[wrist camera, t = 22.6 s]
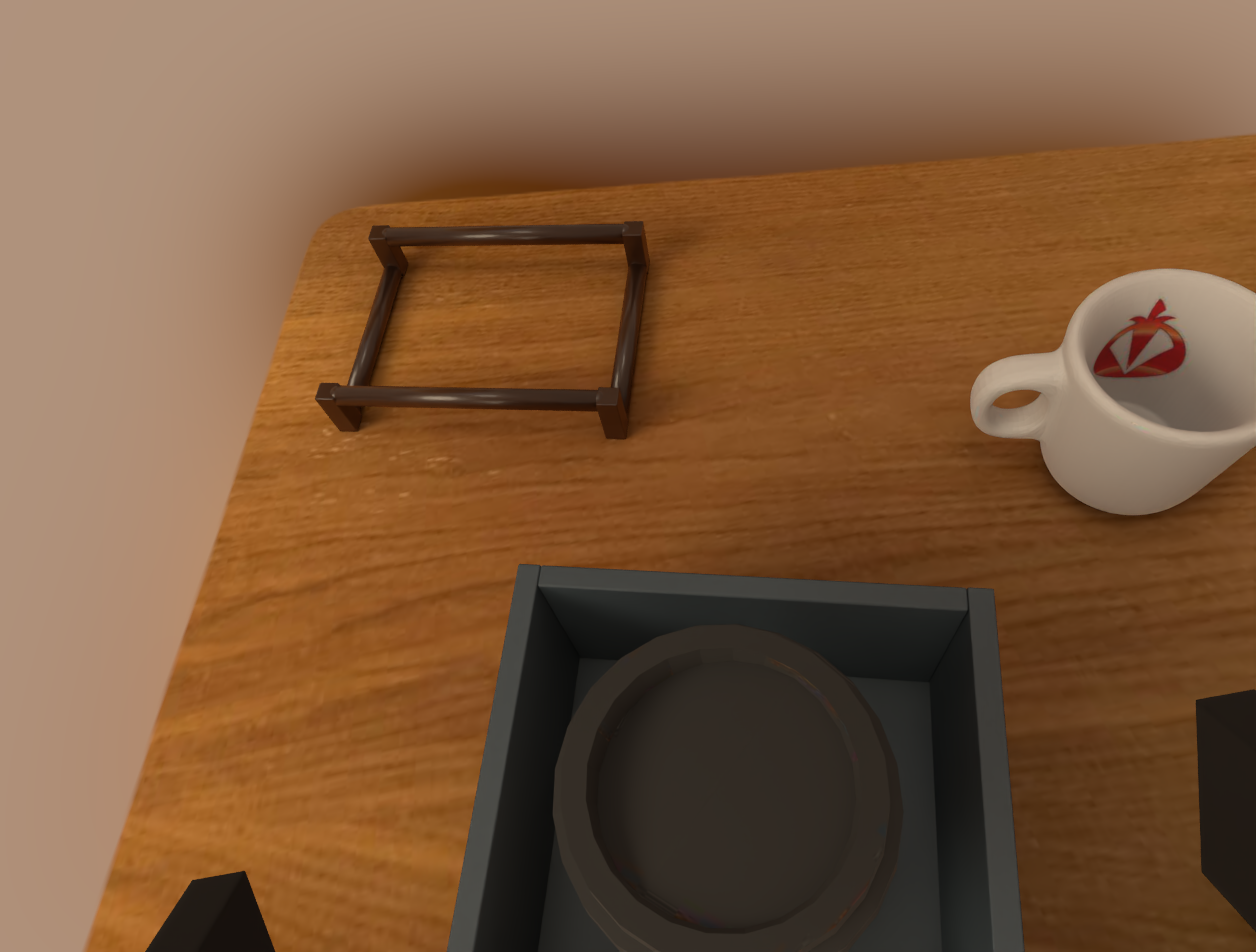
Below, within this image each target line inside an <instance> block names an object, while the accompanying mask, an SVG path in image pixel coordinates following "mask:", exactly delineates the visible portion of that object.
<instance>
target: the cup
mask: <svg viewBox="0 0 1256 952" xmlns="http://www.w3.org/2000/svg"><path fill="white" fill-rule="evenodd" d="M1015 390H1035V391H1038V392H1041V394H1040V395H1039V397H1038V398H1037V399H1036V400H1035V401H1033V402H1032V403H1030V404H1028V405H1026V406H1023V407H1019V408H1014V409H1002V408H998V407H995V406H993V405H992V404H993V402H994V401H995V400H996V399H997V398H998V397H999V396H1001V395H1003V394H1005V393H1007V392H1011V391H1015ZM970 408H971V413H972V418H973V420H974V422H975V424H976V426H977V427H978V428H979V429H980V430H981V431H983V432H984V433H986V434H989V435H992V436H996V437H1001V438H1024V439H1035V440H1038V441H1040V446H1041V451H1042V455H1043V458H1044V461H1045V463H1046V466H1047V468H1048V470H1049V471H1050V473H1051V474H1052V476H1053V477H1054V479H1055V480H1056V481H1057V482H1058V484H1059V485H1060V486H1061V487H1062V488H1064V489H1065V490H1066V491H1067V492H1068V493H1069V494H1071V495H1072V496H1073V497H1075V498H1076V499H1078V500H1079V501H1081V502H1083V503H1085V504H1087V505H1089V506H1091V507H1093V508H1096V509H1099V510H1102V511H1105V512H1109V513H1114V514H1121V515H1146V514H1151V513H1156V512H1160V511H1163V510H1166V509H1169V508H1171V507H1173V506H1176V505H1178V504H1180V503H1182V502H1183V501H1185V500H1187V499H1188V498H1190V497H1191V496H1193V495H1194V494H1195V493H1197V492H1198V491H1199V490H1201V489H1202V488H1203V487H1204V486H1206V485H1207V484H1208V483H1209V482H1211V481H1212V480H1213V479H1214V478H1216V477H1217V476H1218V475H1219V474H1221V473H1222V472H1223V471H1224V470H1226V469H1227V468H1228V467H1229V466H1231V465H1232V464H1233V463H1234V462H1236V461H1237V460H1238V459H1239V458H1241V457H1242V456H1243V455H1244V454H1246V453H1247V452H1248V451H1249V450H1251V449H1252V448H1253V447H1254V446H1256V293H1254V292H1252V291H1251V290H1249V289H1247V288H1245V287H1243V286H1241V285H1239V284H1237V283H1235V282H1232V281H1230V280H1227V279H1224V278H1221V277H1218V276H1216V275H1212V274H1207V273H1203V272H1199V271H1192V270H1185V269H1153V270H1145V271H1140V272H1134V273H1131V274H1127V275H1124V276H1121V277H1119V278H1116V279H1114V280H1112V281H1110V282H1108V283H1106V284H1104V285H1102V286H1101V287H1099V288H1098V289H1096V290H1095V291H1094V292H1092V293H1091V294H1090V295H1089V296H1088V297H1087V298H1086V299H1085V300H1084V301H1083V302H1082V303H1081V304H1080V305H1079V307H1078V308H1077V310H1076V311H1075V313H1074V315H1073V316H1072V318H1071V320H1070V323H1069V325H1068V328H1067V331H1066V334H1065V337H1064V340H1063V343H1062V344H1061V346H1060V348H1058V349H1057V350H1056V351H1053V352H1050V353H1038V354H1026V355H1017V356H1012V357H1007V358H1004V359H1001V360H999V361H996V362H994V363H992V364H991V365H989V366H987V367H986V368H985V369H984V370H983V371H982V372H981V373H980V375H979V376H978V377H977V379H976V380H975V383H974V385H973V387H972V391H971V398H970Z"/></svg>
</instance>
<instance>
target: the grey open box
mask: <svg viewBox="0 0 1256 952" xmlns="http://www.w3.org/2000/svg"><path fill="white" fill-rule="evenodd" d="M726 624H740V625H744V626H749V627H753V628H758V629H763V630H767V631H772V632H776V633H780V634H782V635H784V636H786V637H788V638H790V639H792V640H794V641H796V642H798V643H800V644H802V645H804V646H806V647H808V648H810V649H812V650H814V651H816V652H818V653H819V654H821V655H822V656H823V657H824V658H825V659H827V660H828V661H829V662H830V663H831V664H832V665H834V666H835V667H836V668H837V669H838V670H839V671H841V672H842V673H843V674H844V675H845V676H847V677H848V678H849V679H850V680H851V681H852V682H853V683H854V684H855V686H856V687H857V688H858V690H859V691H860V693H861V694H862V695H863V697H864V698H865V700H866V701H867V702H868V704H869V705H870V707H871V708H872V709H873V711H874V712H875V713H876V715H877V716H878V718H879V719H880V721H881V724H882V726H883V729H884V731H885V734H886V736H887V739H888V741H889V744H890V747H891V749H892V752H893V754H894V757H895V759H896V762H897V765H898V773H899V780H900V788H901V796H902V804H903V811H904V813H903V825H902V833H901V840H900V848H899V855H898V863H897V870H896V872H895V875H894V877H893V879H892V882H891V884H890V886H889V889H888V891H887V894H886V896H885V898H884V901H883V903H882V905H881V908H880V910H879V912H878V915H877V916H876V917H875V919H874V920H873V921H872V922H871V924H870V925H869V926H868V927H867V928H866V930H865V931H864V932H863V933H862V935H861V936H860V937H859V938H858V939H857V941H856V942H855V943H854V944H853V946H852V947H851V948H850V949H849V950H848V952H1025V949H1024V938H1023V926H1022V914H1021V902H1020V891H1019V879H1018V867H1017V855H1016V844H1015V832H1014V820H1013V809H1012V797H1011V785H1010V773H1009V762H1008V750H1007V738H1006V726H1005V715H1004V703H1003V691H1002V680H1001V668H1000V656H999V644H998V633H997V621H996V609H995V597H994V590H993V589H986V588H967V589H966V588H958V587H939V586H920V585H901V584H882V583H863V582H844V581H826V580H807V579H788V578H769V577H750V576H731V575H712V574H694V573H675V572H656V571H637V570H618V569H599V568H581V567H562V566H542V567H541V566H540V565H529V564H519V566H518V571H517V577H516V582H515V587H514V593H513V598H512V603H511V609H510V614H509V620H508V625H507V630H506V636H505V641H504V647H503V652H502V657H501V663H500V668H499V673H498V679H497V684H496V690H495V695H494V700H493V706H492V711H491V717H490V722H489V727H488V733H487V738H486V743H485V749H484V754H483V760H482V765H481V770H480V776H479V781H478V787H477V792H476V797H475V803H474V808H473V813H472V819H471V824H470V830H469V835H468V840H467V846H466V851H465V857H464V862H463V867H462V873H461V878H460V883H459V889H458V894H457V900H456V905H455V910H454V916H453V921H452V927H451V932H450V937H449V943H448V948H447V952H620V951H619V950H618V949H617V947H616V946H615V945H614V944H613V943H612V942H611V940H610V939H609V938H608V937H607V936H606V934H605V933H604V932H603V931H602V930H601V929H600V927H599V926H598V925H597V924H596V923H595V921H594V920H593V919H592V918H591V917H590V916H589V914H588V913H587V911H586V909H585V908H584V907H583V905H582V903H581V901H580V899H579V896H578V894H577V892H576V890H575V888H574V886H573V884H572V882H571V880H570V878H569V875H568V873H567V871H566V869H565V867H564V865H563V863H562V860H561V854H560V849H559V844H558V839H557V834H556V829H555V824H554V819H553V799H554V780H555V767H556V764H557V760H558V757H559V754H560V751H561V747H562V744H563V741H564V737H565V734H566V731H567V728H568V725H569V723H570V722H571V720H572V718H573V717H574V715H575V713H576V712H577V710H578V708H579V707H580V705H581V703H582V702H583V700H584V698H585V697H586V695H587V693H588V692H589V690H590V688H591V687H592V686H593V685H594V684H595V683H596V682H597V681H598V680H599V679H600V678H601V677H602V676H603V675H604V674H605V673H606V672H607V671H608V670H609V669H610V668H611V667H612V666H613V665H614V664H615V663H616V662H617V661H618V660H619V659H620V658H622V657H624V656H625V655H627V654H629V653H630V652H632V651H634V650H635V649H637V648H639V647H640V646H642V645H644V644H646V643H647V642H649V641H651V640H652V639H654V638H656V637H658V636H662V635H665V634H669V633H672V632H676V631H679V630H682V629H686V628H689V627H693V626H696V625H726Z"/></svg>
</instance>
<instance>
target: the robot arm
mask: <svg viewBox="0 0 1256 952" xmlns="http://www.w3.org/2000/svg"><path fill="white" fill-rule="evenodd" d="M1196 720H1197V749H1198V778H1199V807H1200V836H1201V865H1202V873H1203V874H1204V875H1205V876H1206V877H1207V878H1208V880H1209V881H1210V882H1211V883H1212V884H1213V885H1214V886H1215V887H1216V888H1217V889H1218V891H1219V892H1220V893H1221V894H1222V895H1223V896H1224V897H1225V898H1226V899H1227V900H1228V902H1229V903H1230V904H1231V905H1232V906H1233V907H1234V908H1235V909H1236V910H1237V911H1238V913H1239V914H1240V915H1241V916H1242V917H1243V918H1244V919H1245V920H1246V921H1247V923H1248V924H1249V925H1250V926H1251V927H1252V928H1253V929H1254V930H1255V931H1256V690H1248V691H1243V692H1237V693H1232V694H1226V695H1221V696H1215V697H1209V698H1204V699H1198V700H1196ZM145 952H275V950H274V947H273V945H272V942H271V939H270V937H269V934H268V931H267V928H266V926H265V923H264V920H263V918H262V915H261V912H260V910H259V907H258V904H257V902H256V899H255V896H254V894H253V891H252V888H251V886H250V883H249V880H248V878H247V875H246V872H245V871H242V872H236V873H230V874H225V875H219V876H214V877H208V878H203V879H197V880H192V881H191V883H190V885H189V886H188V888H187V889H186V891H185V892H184V894H183V895H182V897H181V898H180V900H179V901H178V903H177V904H176V906H175V907H174V909H173V910H172V912H171V913H170V915H169V916H168V918H167V919H166V921H165V923H164V924H163V926H162V927H161V929H160V930H159V932H158V933H157V935H156V936H155V938H154V939H153V941H152V942H151V944H150V945H149V947H148V948H147V950H146V951H145Z"/></svg>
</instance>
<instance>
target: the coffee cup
mask: <svg viewBox="0 0 1256 952" xmlns="http://www.w3.org/2000/svg"><path fill="white" fill-rule="evenodd" d="M903 813H904V811H903V804H902V796H901V788H900V780H899V773H898V765H897V762H896V759H895V757H894V754H893V752H892V749H891V747H890V744H889V741H888V739H887V736H886V734H885V731H884V729H883V726H882V724H881V721H880V719H879V718H878V716H877V715H876V713H875V712H874V711H873V709H872V708H871V707H870V705H869V704H868V702H867V701H866V700H865V698H864V697H863V695H862V694H861V693H860V691H859V690H858V688H857V687H856V686H855V684H854V683H853V682H852V681H851V680H850V679H849V678H848V677H847V676H845V675H844V674H843V673H842V672H841V671H839V670H838V669H837V668H836V667H835V666H834V665H832V664H831V663H830V662H829V661H828V660H827V659H825V658H824V657H823V656H822V655H821V654H819V653H818V652H816V651H814V650H812V649H810V648H808V647H806V646H804V645H802V644H800V643H798V642H796V641H794V640H792V639H790V638H788V637H786V636H784V635H782V634H780V633H776V632H772V631H767V630H763V629H758V628H753V627H749V626H744V625H740V624H726V625H696V626H693V627H689V628H686V629H682V630H679V631H676V632H672V633H669V634H665V635H662V636H658V637H656V638H654V639H652V640H651V641H649V642H647V643H646V644H644V645H642V646H640V647H639V648H637V649H635V650H634V651H632V652H630V653H629V654H627V655H625V656H624V657H622V658H620V659H619V660H618V661H617V662H616V663H615V664H614V665H613V666H612V667H611V668H610V669H609V670H608V671H607V672H606V673H605V674H604V675H603V676H602V677H601V678H600V679H599V680H598V681H597V682H596V683H595V684H594V685H593V686H592V687H591V688H590V690H589V692H588V693H587V695H586V697H585V698H584V700H583V702H582V703H581V705H580V707H579V708H578V710H577V712H576V713H575V715H574V717H573V718H572V720H571V722H570V723H569V725H568V728H567V731H566V734H565V737H564V741H563V744H562V747H561V751H560V754H559V757H558V760H557V764H556V767H555V780H554V799H553V819H554V824H555V829H556V834H557V839H558V844H559V849H560V854H561V860H562V863H563V865H564V867H565V869H566V871H567V873H568V875H569V878H570V880H571V882H572V884H573V886H574V888H575V890H576V892H577V894H578V896H579V899H580V901H581V903H582V905H583V907H584V908H585V909H586V911H587V913H588V914H589V916H590V917H591V918H592V919H593V920H594V921H595V923H596V924H597V925H598V926H599V927H600V929H601V930H602V931H603V932H604V933H605V934H606V936H607V937H608V938H609V939H610V940H611V942H612V943H613V944H614V945H615V946H616V947H617V949H618V950H619V951H620V952H848V950H849V949H850V948H851V947H852V946H853V944H854V943H855V942H856V941H857V939H858V938H859V937H860V936H861V935H862V933H863V932H864V931H865V930H866V928H867V927H868V926H869V925H870V924H871V922H872V921H873V920H874V919H875V917H876V916H877V915H878V912H879V910H880V908H881V905H882V903H883V901H884V898H885V896H886V894H887V891H888V889H889V886H890V884H891V882H892V879H893V877H894V875H895V872H896V870H897V863H898V855H899V848H900V840H901V833H902V825H903Z"/></svg>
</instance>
